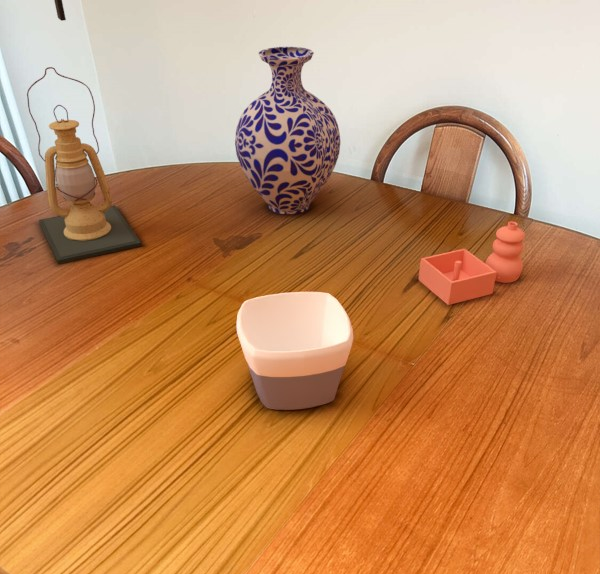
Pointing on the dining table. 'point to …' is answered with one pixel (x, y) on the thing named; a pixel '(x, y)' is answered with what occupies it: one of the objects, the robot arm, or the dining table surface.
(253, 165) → the vase
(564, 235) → the dining table surface
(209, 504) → the dining table surface
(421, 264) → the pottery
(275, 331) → the bowl
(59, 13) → the robot arm
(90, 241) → the placemat
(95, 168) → the lantern
